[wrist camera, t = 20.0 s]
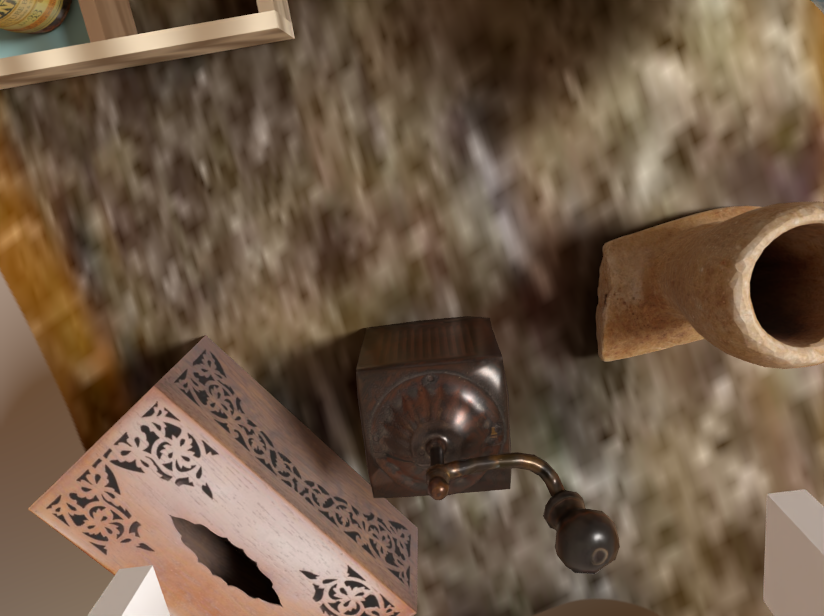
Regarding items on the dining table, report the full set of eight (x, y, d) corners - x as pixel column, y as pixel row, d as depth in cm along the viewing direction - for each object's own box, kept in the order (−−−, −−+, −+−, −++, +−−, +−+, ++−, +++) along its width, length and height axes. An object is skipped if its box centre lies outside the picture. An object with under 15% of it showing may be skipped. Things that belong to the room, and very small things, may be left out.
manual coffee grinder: (380, 443, 51) (357, 605, 34) (363, 324, 48) (329, 438, 31) (558, 428, 50) (628, 586, 33) (554, 306, 47) (629, 412, 30)
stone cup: (770, 164, 43) (942, 184, 29) (781, 311, 47) (939, 394, 32) (568, 214, 45) (636, 257, 30) (593, 354, 48) (664, 451, 34)
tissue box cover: (417, 526, 54) (416, 612, 44) (309, 609, 57) (287, 707, 47) (206, 333, 48) (154, 385, 39) (100, 437, 52) (27, 509, 42)
